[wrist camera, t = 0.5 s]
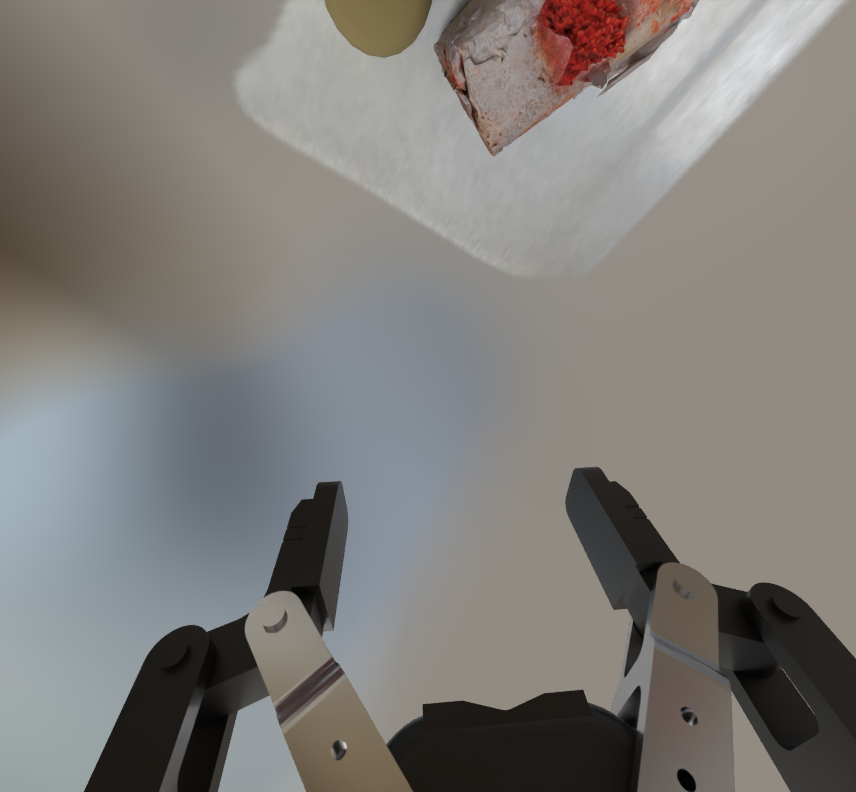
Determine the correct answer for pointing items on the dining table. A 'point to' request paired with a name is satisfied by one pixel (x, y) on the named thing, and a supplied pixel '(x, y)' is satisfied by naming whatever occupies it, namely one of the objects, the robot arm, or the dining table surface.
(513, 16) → the food item
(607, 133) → the dining table surface
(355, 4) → the cork
